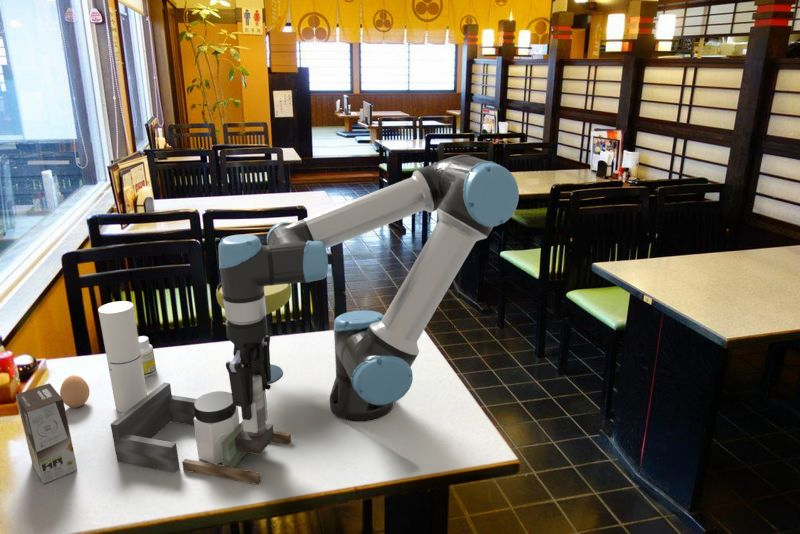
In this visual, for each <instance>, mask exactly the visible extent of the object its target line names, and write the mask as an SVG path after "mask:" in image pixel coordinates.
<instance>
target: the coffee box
mask: <svg viewBox="0 0 800 534" xmlns="http://www.w3.org/2000/svg"><path fill="white" fill-rule="evenodd" d="M15 399H16V403H17V406H18V407H17V408H18V411H19V414H20V419H21V420H20V421H21V422H22V427H23V432H24V436H25V439H26V440H25V441H26V443H27V448H28V453H29V456H30V460H31V464H32V466H33V468H34V470H35V472H36V473H37V475H38V476H39V478H40V480H41V482H42V483H43V484H47V483H50V482H52V481H54V480H57V479H59V478H62V477H64V476H66V475H69V474H71V473H74V472H76V471H77V470H78V464H77V460H76V456H75V451H74V447H73V441H72V436H71V431H70V427H69V423H68V417H67V413H66V408H65V403H64V402H63V399H62V398H61V396H60V393H58V391H57V390H56V389H55V388H54V386H53V385H52V384H51V383H50V382H49V383H46V384H42V385H39V386H36V387H32V388H29V389H27V390H26V391H22V392H19V393H16V394H15Z"/></svg>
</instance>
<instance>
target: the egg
mask: <svg viewBox="0 0 800 534" xmlns="http://www.w3.org/2000/svg"><path fill="white" fill-rule="evenodd" d="M59 391H60V392H59V395H60V396H61V398H62V399H63V402H64V405H65V406H67V407H69V408H73V409H74V408H79V407H80V408H81V407H82V406H83V405H85V403H86V402H87V401H88V399H89V396H90V387H89V385H88V383H87V381H86V380H85V379H84V378H82V376H80V375H75V374H74V375H70V376H68V377H66V378H65V379H63V382H62V384H61V386H60V389H59Z"/></svg>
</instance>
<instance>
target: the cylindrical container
mask: <svg viewBox="0 0 800 534" xmlns="http://www.w3.org/2000/svg"><path fill="white" fill-rule="evenodd" d="M97 310H98V311H97V312H98V316H99V320H100V321H99V322H100V327H101V332H102V333H101V334H102V338H103V344H104V349H105V355H106V362H107V366H108V371H109V378H110V383H111V388H112V389H111V390H112V395H113V400H114V406H115V410H116V411H117V412H120V413H125V412H127V411H128V410H129V409H130V408H132V407H133V406H134V405H136V404H137V403H138V402H140V401H141V400H142V399H143V398H145V397H146V396H147V395H148V391H147V385H146V377H144V371H143V364H142V358H141V351H140V345H139V339H138V337H139V333H138V328H137V321H136V316H135V308H134V303H132V302H131V301H128V300H127V301H124V300H121V301H120V300H119V301H113V302H108V303H106V304H103V305H101V306H100V307H98V309H97Z"/></svg>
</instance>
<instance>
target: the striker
mask: <svg viewBox="0 0 800 534" xmlns="http://www.w3.org/2000/svg"><path fill="white" fill-rule="evenodd" d="M253 402H255V403H256V414H257V425H258V431H257V433H253V432H247V431H244V428H243V420H242V421H240V422H239V423H240V424H239V425H238V426H237V427H236V428H235V430H234V431H233V432H232V433H231V434H230V435H229V436H228V437H227V438H226V439H225V440H224V441H223V442H222V444H221V445H222V454H223V462H222V463H223V466H227V467H232V468H236V466H237V464H238V463H239V462H240V461H241V460H242V458H243V457H244V456H245V455H246V454H247V453H249V454H255V455H261V454H262V453H263V452H264V450H265V449H266V448H267V447H268V445H269V444H270V443H271V442H272V441H271V440H272V439H273V438H274V432H273V430H274V425H273V424H270V423H266V421H265V411H264V399H263V388H262V377H261V376H260V375H258V374H253Z"/></svg>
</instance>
